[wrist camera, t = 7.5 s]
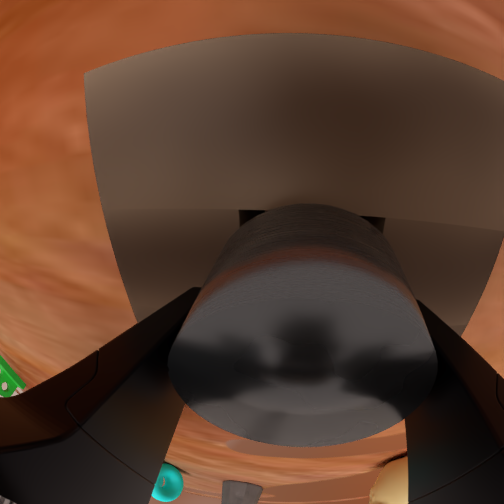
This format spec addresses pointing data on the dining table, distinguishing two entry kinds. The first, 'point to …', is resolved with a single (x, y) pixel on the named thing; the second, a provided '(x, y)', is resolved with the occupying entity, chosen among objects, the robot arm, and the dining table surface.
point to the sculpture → (391, 484)
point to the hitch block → (298, 156)
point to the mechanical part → (9, 379)
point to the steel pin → (304, 333)
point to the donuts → (168, 484)
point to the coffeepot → (240, 492)
